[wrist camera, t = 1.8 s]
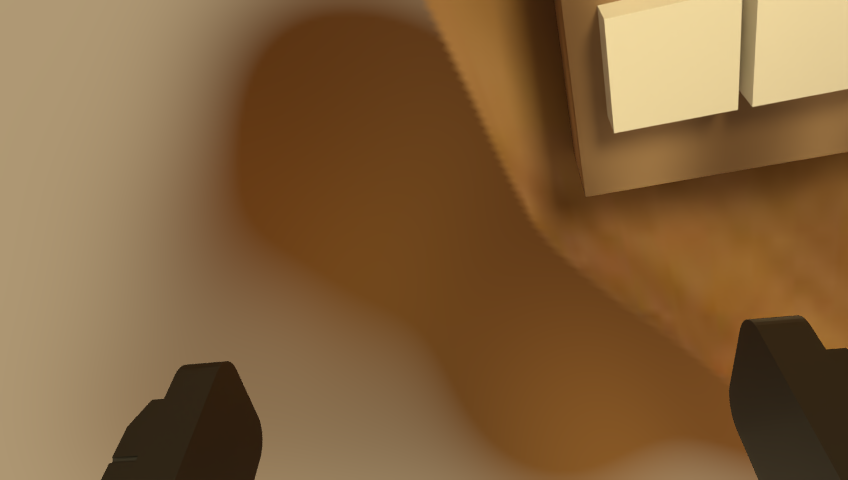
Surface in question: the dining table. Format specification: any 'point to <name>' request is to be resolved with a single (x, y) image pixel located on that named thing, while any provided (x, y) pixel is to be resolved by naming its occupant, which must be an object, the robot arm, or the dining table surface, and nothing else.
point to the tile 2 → (792, 49)
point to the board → (681, 124)
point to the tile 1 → (669, 60)
